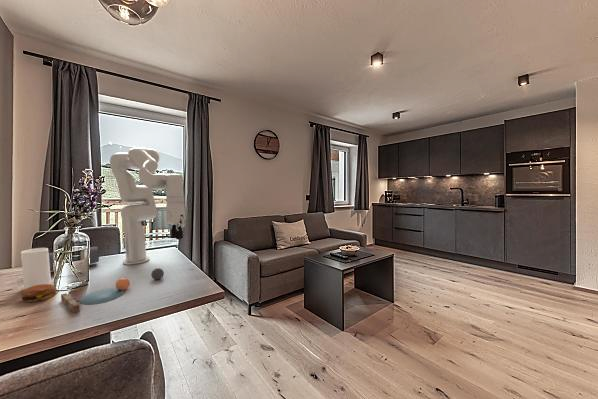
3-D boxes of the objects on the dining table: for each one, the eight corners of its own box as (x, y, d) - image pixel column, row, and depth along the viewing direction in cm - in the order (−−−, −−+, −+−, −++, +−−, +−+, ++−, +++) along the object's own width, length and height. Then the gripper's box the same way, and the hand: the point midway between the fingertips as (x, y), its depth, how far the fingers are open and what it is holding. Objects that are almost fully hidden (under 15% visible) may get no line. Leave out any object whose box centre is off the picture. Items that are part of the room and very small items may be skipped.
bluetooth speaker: (97, 261, 147) (95, 244, 147) (99, 265, 141) (98, 247, 140) (40, 272, 132) (38, 252, 131) (40, 277, 125) (38, 256, 124)
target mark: (74, 297, 102) (74, 297, 102) (116, 285, 113) (116, 285, 113) (86, 308, 94) (86, 307, 94) (130, 294, 105) (130, 293, 105)
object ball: (113, 290, 109) (113, 278, 108) (127, 286, 113) (126, 274, 112) (118, 293, 106) (117, 281, 105) (132, 289, 110) (131, 277, 109)
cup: (37, 290, 109) (34, 252, 108) (18, 290, 109) (14, 252, 108) (56, 283, 117) (53, 247, 116) (38, 283, 118) (35, 247, 116)
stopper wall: (61, 300, 100) (60, 294, 100) (66, 299, 101) (66, 293, 101) (74, 313, 90) (73, 306, 90) (79, 311, 91) (79, 304, 91)
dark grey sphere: (149, 279, 120) (148, 269, 120) (160, 276, 124) (160, 265, 124) (154, 282, 117) (154, 271, 117) (166, 278, 121) (165, 268, 121)
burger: (43, 291, 109) (42, 280, 108) (62, 293, 107) (61, 282, 107) (14, 303, 99) (12, 291, 98) (34, 305, 97) (33, 292, 97)
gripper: (158, 200, 128) (160, 237, 129) (176, 201, 118) (178, 242, 119) (173, 198, 134) (175, 234, 135) (192, 200, 124) (194, 238, 125)
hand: (177, 237), depth 127 cm, fingers open, 3 cm apart
